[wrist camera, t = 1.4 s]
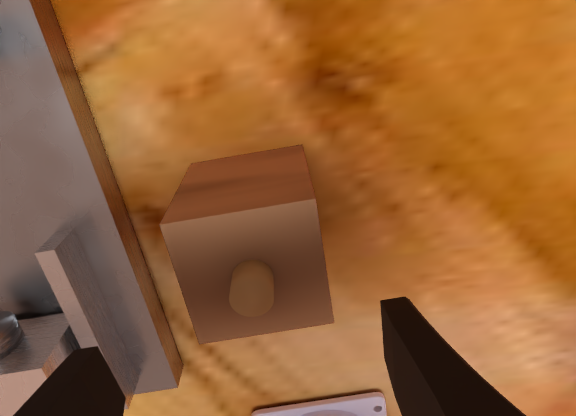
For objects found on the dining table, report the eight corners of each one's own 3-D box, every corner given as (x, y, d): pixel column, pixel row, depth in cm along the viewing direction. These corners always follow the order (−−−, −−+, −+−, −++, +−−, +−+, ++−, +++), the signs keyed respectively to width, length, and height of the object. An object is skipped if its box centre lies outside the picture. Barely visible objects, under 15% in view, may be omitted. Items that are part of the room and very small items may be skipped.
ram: (107, 373, 21) (79, 436, 18) (-7, 391, 21) (-55, 456, 18) (70, 293, 19) (30, 348, 16) (-57, 313, 19) (-121, 373, 16)
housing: (317, 241, 21) (339, 346, 14) (217, 257, 21) (193, 369, 14) (302, 144, 19) (320, 215, 12) (191, 163, 19) (149, 243, 12)
